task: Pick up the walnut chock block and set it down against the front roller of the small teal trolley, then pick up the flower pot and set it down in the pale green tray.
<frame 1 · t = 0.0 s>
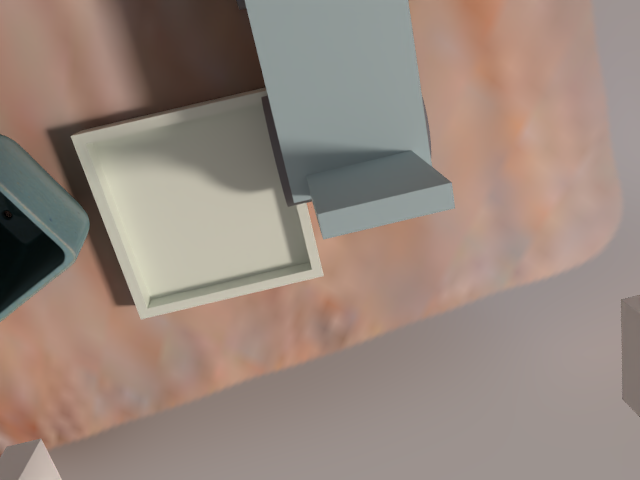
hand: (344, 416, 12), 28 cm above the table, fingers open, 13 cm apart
trolley: (319, 37, 36), on the table
flower pot: (27, 199, 38), on the table
tray: (208, 201, 39), on the table
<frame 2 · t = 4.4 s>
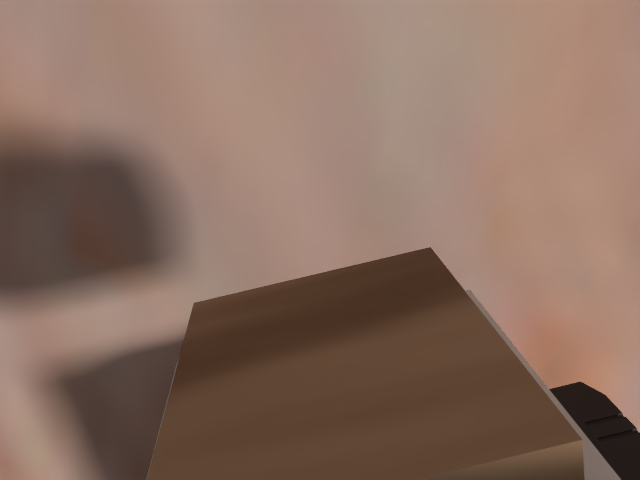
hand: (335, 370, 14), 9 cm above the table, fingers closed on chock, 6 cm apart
chock: (332, 359, 15), point 8 cm above the table, touching gripper
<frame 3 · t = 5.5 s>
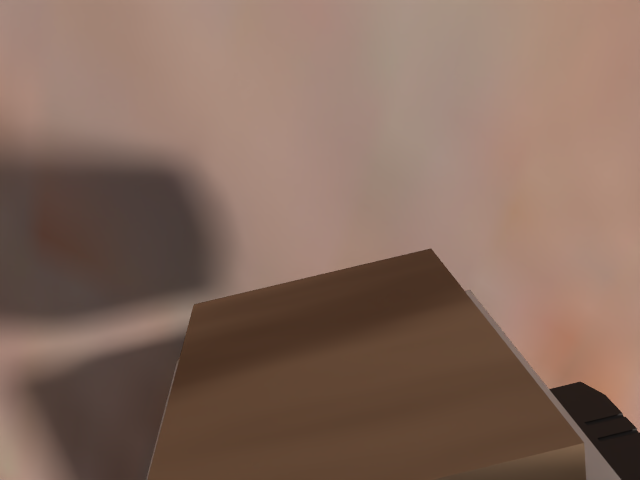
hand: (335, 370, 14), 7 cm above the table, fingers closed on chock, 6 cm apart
chock: (333, 361, 14), point 7 cm above the table, touching gripper
when the fingers open (0 cm above the table, at t = 7.1 s): chock stays where it is, on the table.
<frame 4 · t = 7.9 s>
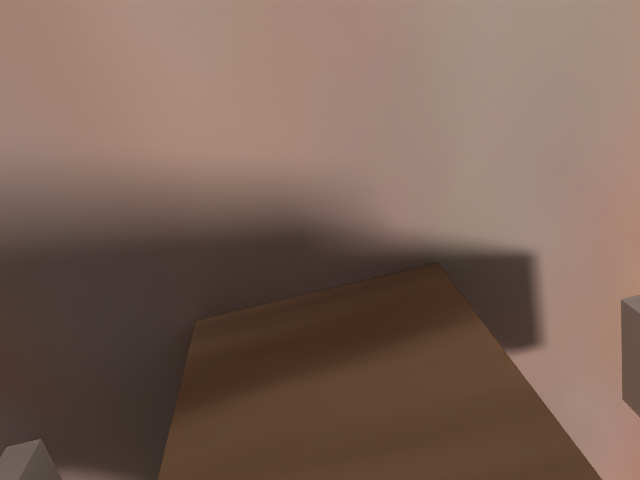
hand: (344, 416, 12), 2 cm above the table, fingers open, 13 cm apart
chock: (337, 375, 14), on the table
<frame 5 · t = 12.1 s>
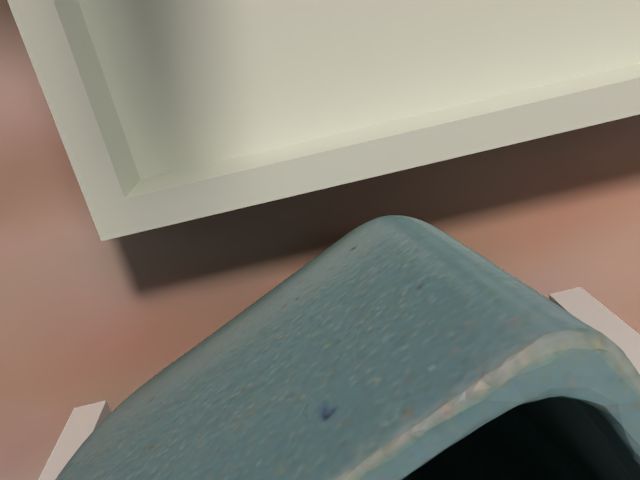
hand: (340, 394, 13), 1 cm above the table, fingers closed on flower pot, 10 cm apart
flower pot: (333, 356, 15), on the table, touching gripper
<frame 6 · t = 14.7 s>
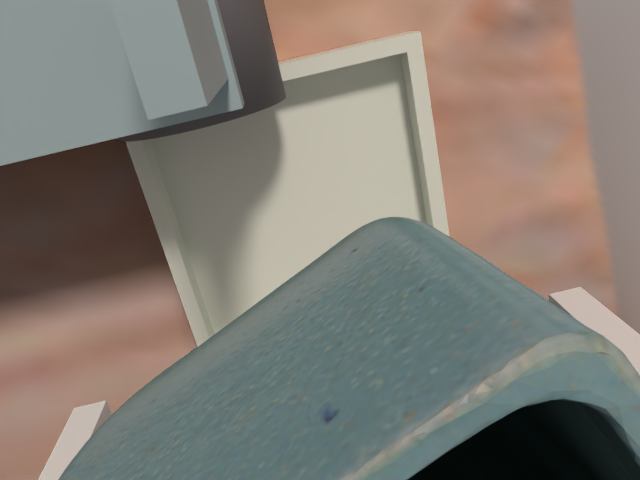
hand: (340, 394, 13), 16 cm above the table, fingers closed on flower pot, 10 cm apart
trolley: (47, 34, 24), on the table
flower pot: (334, 357, 15), point 14 cm above the table, touching gripper
tray: (299, 200, 28), on the table
when the fingers open (4 cm above the table, at t = 17.4 s): flower pot drops 2 cm, resting on tray.
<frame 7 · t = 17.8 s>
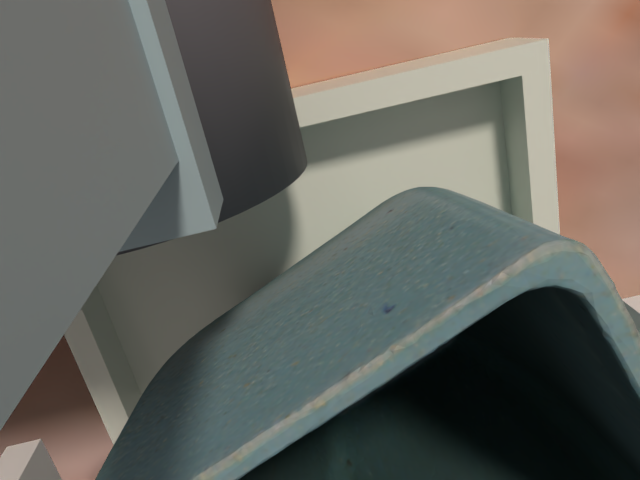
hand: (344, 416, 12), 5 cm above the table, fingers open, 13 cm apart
flower pot: (356, 317, 17), point 1 cm above the table, touching tray
tray: (321, 307, 17), on the table
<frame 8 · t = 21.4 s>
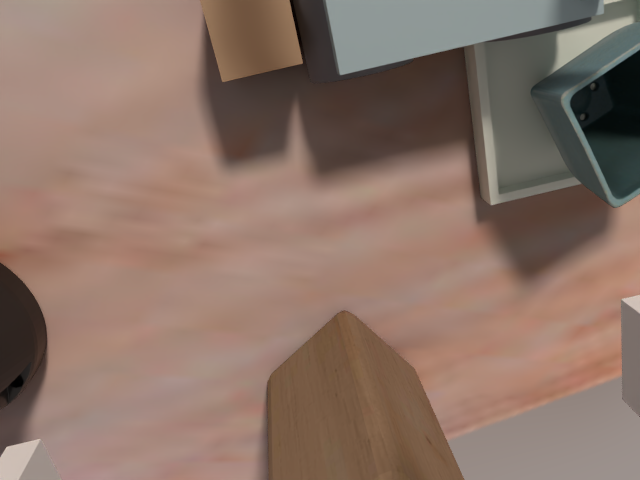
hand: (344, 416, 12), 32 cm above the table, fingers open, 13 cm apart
flower pot: (572, 98, 42), point 1 cm above the table, touching tray
wooden block: (341, 371, 50), on the table
chock: (252, 22, 39), on the table
tray: (555, 96, 43), on the table
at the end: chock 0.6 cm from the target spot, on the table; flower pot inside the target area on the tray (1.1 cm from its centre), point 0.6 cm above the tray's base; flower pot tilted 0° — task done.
